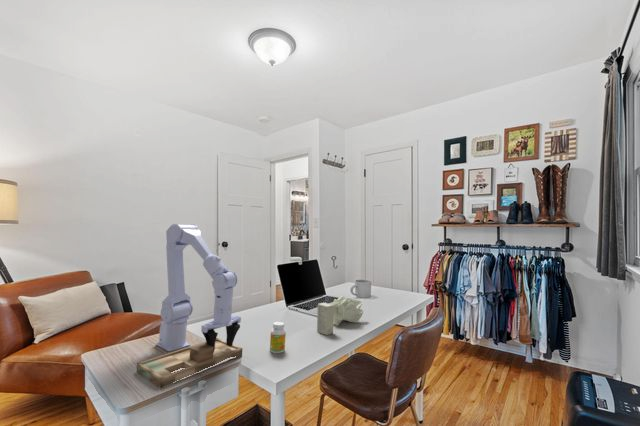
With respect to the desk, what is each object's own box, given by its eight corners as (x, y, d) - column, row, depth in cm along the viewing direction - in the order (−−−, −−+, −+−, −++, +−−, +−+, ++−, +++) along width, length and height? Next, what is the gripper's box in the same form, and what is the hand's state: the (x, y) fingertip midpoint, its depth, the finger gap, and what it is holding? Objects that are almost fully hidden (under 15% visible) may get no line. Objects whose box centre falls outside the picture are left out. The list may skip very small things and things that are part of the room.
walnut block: (189, 358, 96) (190, 347, 96) (203, 353, 100) (204, 342, 100) (198, 363, 93) (199, 352, 93) (212, 358, 97) (213, 347, 97)
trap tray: (136, 372, 90) (137, 363, 90) (216, 345, 113) (217, 337, 113) (160, 388, 82) (161, 378, 82) (242, 355, 105) (242, 348, 105)
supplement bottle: (270, 354, 107) (272, 326, 108) (268, 348, 113) (270, 321, 113) (285, 353, 109) (287, 325, 109) (283, 347, 114) (284, 320, 115)
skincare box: (333, 333, 132) (334, 305, 133) (326, 335, 129) (328, 306, 129) (322, 329, 136) (324, 302, 137) (315, 331, 133) (317, 303, 134)
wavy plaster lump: (345, 332, 153) (350, 302, 161) (364, 333, 144) (368, 300, 152) (318, 322, 144) (325, 290, 152) (337, 322, 135) (343, 288, 143)
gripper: (212, 314, 95) (209, 359, 94) (247, 306, 107) (245, 345, 106) (198, 310, 99) (195, 352, 98) (234, 302, 111) (231, 340, 110)
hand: (220, 348), depth 102 cm, fingers open, 7 cm apart
